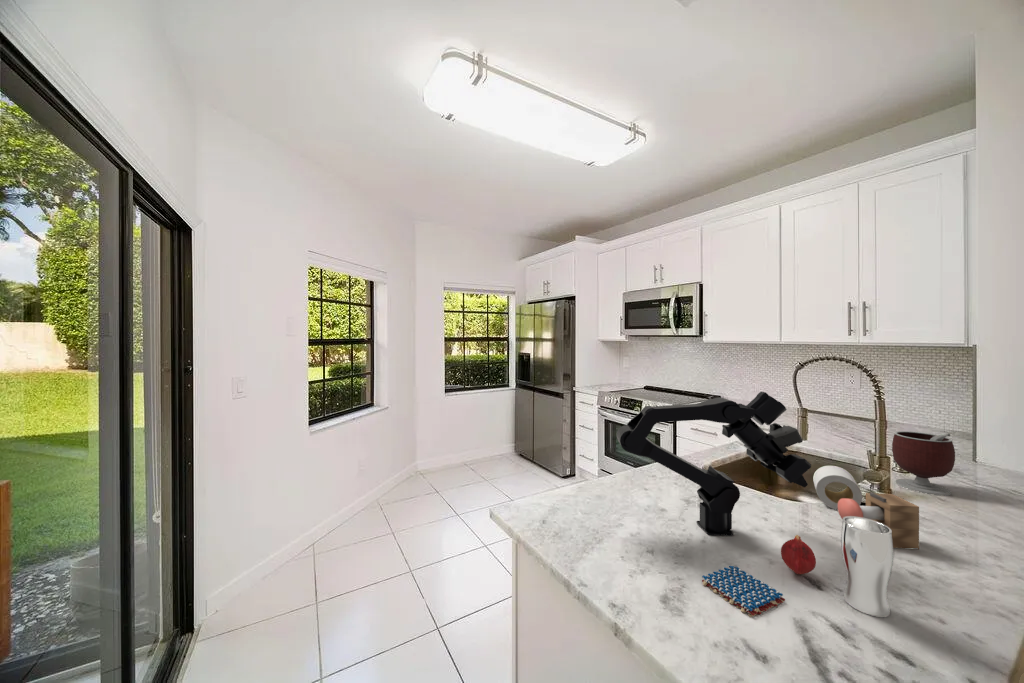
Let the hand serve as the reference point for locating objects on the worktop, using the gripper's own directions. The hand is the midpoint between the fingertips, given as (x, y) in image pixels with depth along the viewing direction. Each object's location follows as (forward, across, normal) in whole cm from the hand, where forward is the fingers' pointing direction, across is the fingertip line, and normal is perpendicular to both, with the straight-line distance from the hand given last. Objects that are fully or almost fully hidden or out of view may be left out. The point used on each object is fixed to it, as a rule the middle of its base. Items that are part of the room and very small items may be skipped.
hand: (800, 482), depth 93 cm
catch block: (+23, 0, -5) cm, 24 cm away
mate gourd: (+51, +36, -32) cm, 70 cm away
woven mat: (-8, -25, +27) cm, 38 cm away
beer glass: (+7, -25, +12) cm, 29 cm away
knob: (+17, 0, -3) cm, 17 cm away
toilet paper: (+25, +20, -6) cm, 33 cm away
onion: (+2, -17, +17) cm, 24 cm away
